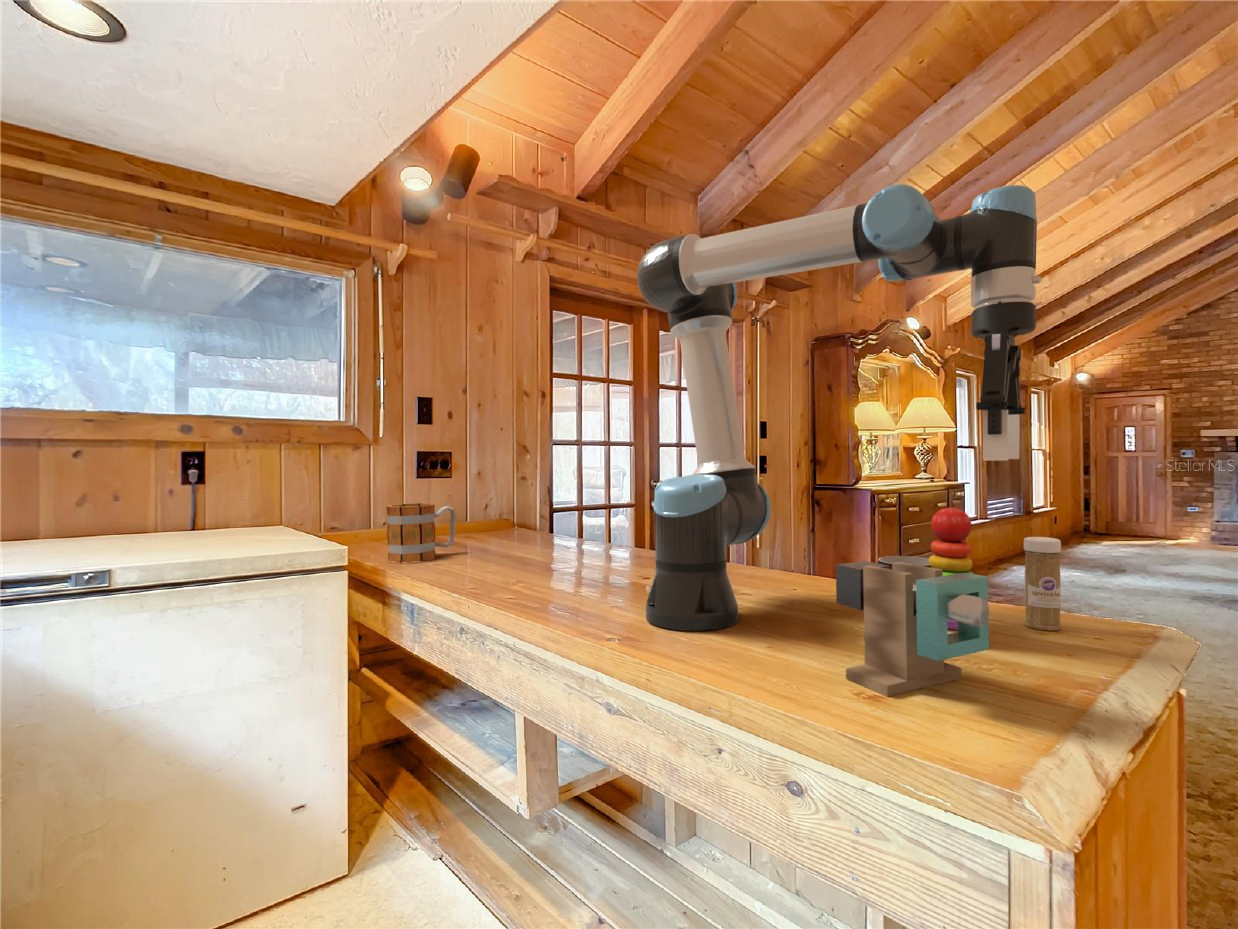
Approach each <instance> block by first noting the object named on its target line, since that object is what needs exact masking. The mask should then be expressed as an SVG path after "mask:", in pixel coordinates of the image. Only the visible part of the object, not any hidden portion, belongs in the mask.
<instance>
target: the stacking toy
mask: <svg viewBox="0 0 1238 929" xmlns="http://www.w3.org/2000/svg"><path fill="white" fill-rule="evenodd" d="M931 518H932V519H931V522H930V524H931V525H930V526H931V530H932V533H933V534H934V536H935V537H936V538H938V539H936V540H933V541H932V542H931V544H930V550H931V552H932V553H933V554H932V555H931V556H929V564H930V566H931V567H932V568H936V569H942V572H943V576H947V575H954V574H961V573H970V574H974V572H973V571H971V570H972V569H973V561H972V559H970V558H969V557H968V556H969V555H970V554H971V553H972V548H971V545H970V544H969V543H968V542H966V541H964V540H966V539H967V538H968V537H969V536H970V534H971V531H972V521H971V518H970V516H969V515H968V514H967V513H966V512H965V511H964V510H961V509H960V508H957V507H945V508H941V509H939V510H938V511H936V512H935V513H934V514H933V516H932V517H931ZM947 628H948V634H951V633H956V632H958V622H957V621H953V620H949V619H947Z"/></svg>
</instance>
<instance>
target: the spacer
mask: <svg viewBox="0 0 1238 929" xmlns="http://www.w3.org/2000/svg"><path fill="white" fill-rule="evenodd" d="M963 594H966V595H970V596H975V597H980V598H983V599H985V600H986V601H987V603H988V604H989V576H987V575H981V574H975V573H973V574H970V573H961V574H954V575H947V576H940V577H933V578H926V579H920V580H916V608H917V654H918V655H921V656H924V657H927V658H930V659H933V660H936V661H941V660H944V661H945V660H949V659H953V658H958V657H962V656H967V655H971V654H975V653H980V652H984V651H989V650H990V639H989V638H990V636H989V635H990V634H989V633H990V632H989V629H990V628H989V618H988V619H987V621H986V623H985V624H984V625H983V626H981V627H976V626H972V625H968V624H965V623H961V622H958V632H956V633H951V634H948V628H947V597H950V596H957V595H963Z"/></svg>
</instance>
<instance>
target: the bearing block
mask: <svg viewBox="0 0 1238 929" xmlns="http://www.w3.org/2000/svg"><path fill="white" fill-rule="evenodd" d="M940 576H943V572H942V569H936V568H931V567H925V566H920V565H914V564H909V563H903V562H894V563H892V569H887V568H882V567H876V566H871V565H869V566H863V584H864V610H863V626H864V627H863V631H864V633H863V634H864V639H863V640H864V642H863V643H864V645H863V646H864V664H861V665H857V666H851V667H848V668H845V679H846V680H849V681H851V682H853V683H855V684H857V685H860V686H863V687H864V688H867V689H869V690H871V691H874V692H876V693H878V694H881V695H883V696H885V697H892V696H894V695H900V694H903V693H904V694H905V693H908V692H911V691H914V690H920V689H923V688H927V687H931V686H936V685H939V684H943V683H947V682H948V683H949V682H952V681H955V680H959V679H962V678H963V676H962V672H963V671H962V669H963V668H962V667H960V666H957V665H954V664H950V663H948V662H946V661H945V660H941V661H936V660H933V659H930V658H927V657H924V656H921V655H918V654H917V611H915V610H913V583H914V584H916V580H920V579H926V578H933V577H940Z"/></svg>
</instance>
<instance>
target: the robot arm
mask: <svg viewBox="0 0 1238 929" xmlns="http://www.w3.org/2000/svg"><path fill="white" fill-rule="evenodd" d="M1036 205H1037V203H1036V193H1035V192H1034V191H1033V189H1031V188H1030V187H1028V186H1025V185H1022V184H1021V185H1019V184H1014V185H1003V186H999V187H998V186H997V187H995V188H992V189H991V190H988V191H984V192H982V193H980V194H978V195H977V196H976V197H975V198H974V199H973V200H972V202H971V208H970V209H969V210H970V211H969V213H964V214H962V215H957V216H955V217H954V216H953V217H949V218H945V219H939V217H938V216H937V214H936V213H935V212H934V209H933V205H932V203H931V202H930V200H929V199H928V197H926V196H925V195H924V194H923V193H921V192H920V191H919V190H918V189H917V188H915V187H913V186H912V185H908V184H902V183H901V184H900V183H899V184H893V185H889V186H886V187H885V188H883V189H881V190H880V191H878V192H877V193H875V194H874V195H873V196H872V197H871V198H870V199H869V200H868V202H865V203H861V204H856V205H851V206H847V207H842V208H838V209H833V210H828V211H824V212H820V213H815V214H809V215H805V216H804V215H803V216H801V217H795V218H791V219H786V220H782V221H777V222H772V223H767V224H763V225H758V226H757V225H756V226H754V227H748V228H744V229H740V230H735V231H730V232H725V233H721V234H716V235H715V234H714V235H711V236H707V237H700V236H699V235H698V234H696V233H690V234H684V235H680V236H675V237H672V238H669V239H665V240H662V241H659V242H657V243H656V244H654V245H653V246H651V247H650V248H649V249H647V251H646V252H645V254H644V255H643V256H642V258H641V260H640V261H639V263H638V266H637V274H636V281H637V287H638V290H639V293H640V295H641V296H642V298H643V299H644V300H645V302H646V303H647V304H649V305H650V306H651V307H653V308H654V309H656V310H659V311H661V312H664V313H667V319H668V324H669V330H670V334H671V335H672V337H674V338H675V339H677V341H679V344H680V350H681V354H682V363H683V369H684V377H685V382H686V384H685V385H686V390H687V396H688V398H687V399H688V404H689V409H690V411H689V412H690V418H691V425H692V429H693V430H692V431H693V438H694V444H695V450H696V458H697V468H696V469H695V471H694V472H693V473H692V474H691V475H684V476H675V477H671V478H666V479H664V480H662V481H660V482H658V484H656V487H655V489H654V499H653V500H654V501H653V505H652V508H653V512H654V516H653V517H654V547H655V548H654V551H655V552H654V554H655V556H654V557H655V572H654V576H653V580H652V584H651V588H650V590H649V594H648V597H647V600H646V603H645V618H646V621H647V622H648V623H650V624H651V625H654V626H656V627H661V628H664V629H668V630H669V629H670V630H677V631H694V632H695V631H698V632H699V631H711V630H712V631H713V630H718V629H724V628H727V627H731V626H733V625H735V624H736V623H737V622H739V605H738V602H737V599H736V596H735V593H734V590H733V587H732V584H731V581H730V578H729V575H728V570H727V547H729V546H733V545H739V544H740V545H741V544H744V543H747V542H749V541H751V540H752V539H754V538H756V537H758V536H759V535H760V534H762V532H763V531H764V529H766V527H767V525H768V523H769V521H770V518H771V514H772V506H771V500H770V496H769V494H768V492H767V491H766V489H765V488H764V487H762V485H761V484H760V483H759V482H758V478H757V473H756V472H757V471H756V467H755V465H754V464H752V463H751V462H750V461H748V460H747V459H746V456H745V455H746V454H745V450H744V445H743V443H744V442H743V436H742V431H741V424H740V418H739V412H738V411H739V410H738V406H737V405H738V404H737V399H736V398H737V397H736V391H735V386H734V380H733V379H734V378H733V372H732V366H731V360H730V359H731V358H730V353H729V347H728V340H727V331H728V329H729V328H730V327H731V325H732V324H733V319H732V318H733V317H732V313H733V309H734V307H736V304H737V299H738V287H737V283H740V282H745V281H746V282H747V281H751V280H759V279H764V278H765V279H766V278H771V277H776V276H784V275H789V274H795V273H801V272H802V273H803V272H807V271H813V270H819V269H826V268H832V267H838V266H844V265H850V264H857V263H865V262H870V261H871V262H872V261H877V263H878V268H879V271H880V273H881V277H882V278H883V280H885V281H886V282H901V281H906V282H908V281H912V280H917V279H920V278H925V277H932V276H936V275H937V276H938V275H943V274H949V273H954V272H960V271H966V270H970V269H971V278H970V306H971V307H972V308H974V309H973V311H972V312H971V314H970V316H971V317H970V318H971V319H970V320H971V322H970V324H971V326H970V327H971V328H970V329H971V330H970V332H971V336H972V337H973V338H976V339H983V340H984V343H985V344H984V351H983V356H984V359H983V360H984V361H983V369H982V382H981V391H980V392H981V395H980V397H979V402H976V404H975V405H976V411H982V461H992V462H993V461H1001V462H1002V461H1009V460H1020V446H1021V445H1020V442H1021V440H1020V429H1021V426H1020V424H1021V422H1020V419H1021V418H1020V417H1021V416H1020V415H1025V414H1026V407H1022V404H1021V391H1020V389H1021V387H1020V374H1021V364H1020V361H1021V357H1022V348H1021V347H1020V345H1016V341H1015V340H1016V339H1015V337H1018V336H1024V335H1028V334H1031V333H1032V332H1034V331H1035V330H1036V328H1037V327H1036V326H1037V306H1036V304H1035V303H1034V302H1032V301H1034V300H1035V299H1036V285H1037V284H1040V283H1041V282H1042V277H1041V275H1036V269H1037V239H1038V238H1037V236H1038V234H1037V232H1038V231H1037V230H1038V221H1037V220H1038V218H1037V206H1036Z"/></svg>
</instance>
